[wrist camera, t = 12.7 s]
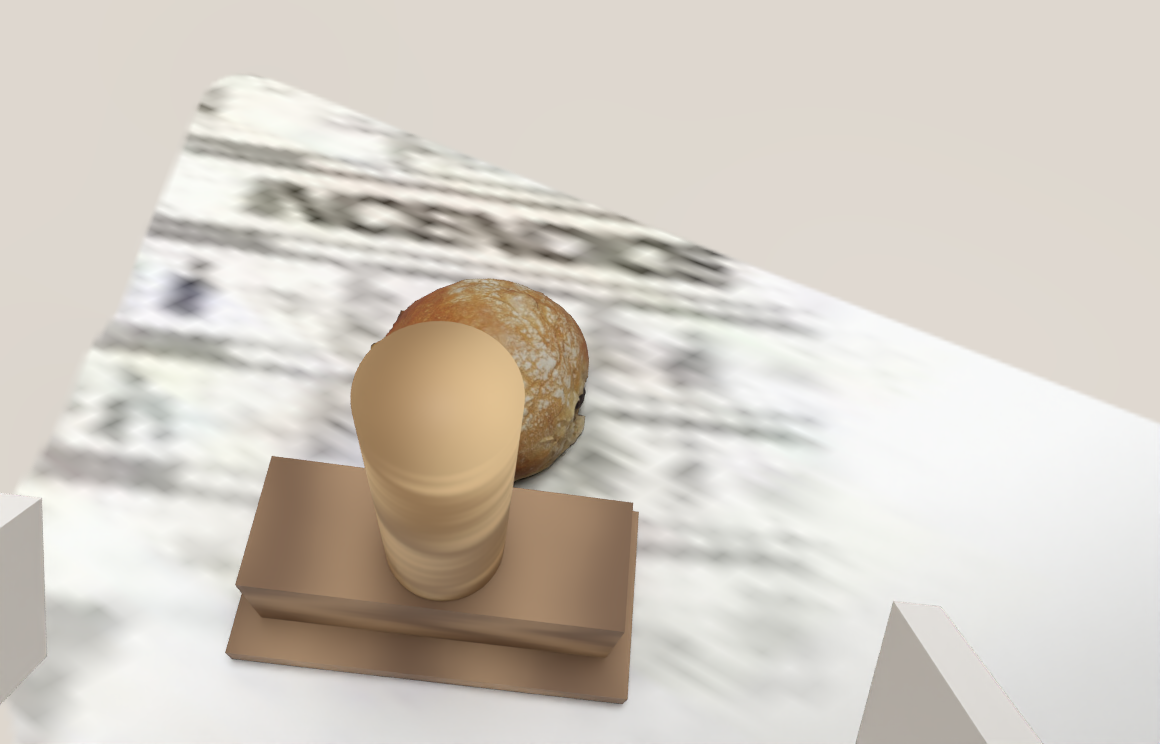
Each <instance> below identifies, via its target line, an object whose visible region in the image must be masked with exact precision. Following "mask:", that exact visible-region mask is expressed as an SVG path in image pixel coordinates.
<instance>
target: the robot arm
mask: <svg viewBox="0 0 1160 744" xmlns="http://www.w3.org/2000/svg"><path fill="white" fill-rule="evenodd" d="M46 657H47V641H46V611H45V580H44V550H43V519H42V498H38V497H30V496H21V495H13V494H5V493H0V704H1V703H2V702H3V701H4V700H5V699H6V698H7V697H8V696H9V695H10V694H11V693H12V692H13V691H14V690H15V689H16V688H17V687H18V686H19V685H20V684H21V683H22V682H23V681H24V680H25V679H26V678H27V677H28V676H29V674H30V673H31V672H32V671H33V670H34V669H35V668H36V667H37V666H38V665H39V664H40V663H41V662H42V661H43V660H44V659H45V658H46ZM856 744H1043V743H1042V742H1041V740H1040V739H1039V738H1038V736H1037V735H1036V734H1035V732H1034V731H1033V730H1032V728H1031V727H1030V726H1029V724H1028V723H1027V722H1026V720H1025V719H1024V718H1023V716H1022V715H1021V713H1020V712H1019V711H1018V709H1017V708H1016V707H1015V705H1014V704H1013V703H1012V701H1011V700H1010V699H1009V697H1008V696H1007V695H1006V693H1005V692H1004V691H1003V689H1002V688H1001V687H1000V685H999V684H998V683H997V681H996V680H995V679H994V677H993V676H992V675H991V673H990V672H989V671H988V669H987V668H986V667H985V665H984V664H983V662H982V661H981V660H980V658H979V657H978V656H977V654H976V653H975V652H974V650H973V649H972V648H971V646H970V645H969V644H968V642H967V641H966V640H965V638H964V637H963V636H962V634H961V633H960V632H959V630H958V629H957V628H956V626H955V625H954V624H953V622H952V621H951V620H950V618H949V617H948V616H947V614H946V613H945V611H944V610H943V609H942V607H940V606H931V605H923V604H915V603H906V602H898V601H893V604H892V608H891V612H890V616H889V619H888V623H887V627H886V631H885V635H884V638H883V642H882V646H881V650H880V653H879V657H878V661H877V665H876V668H875V672H874V676H873V680H872V683H871V687H870V691H869V695H868V699H867V702H866V706H865V710H864V714H863V717H862V721H861V725H860V729H859V732H858V736H857V740H856Z"/></svg>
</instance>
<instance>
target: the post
mask: <svg viewBox="0 0 1160 744" xmlns="http://www.w3.org/2000/svg"><path fill="white" fill-rule="evenodd" d="M524 405H525V390H524V383H523V379H522V375H521V373H520V370H519V368H518V366H517V364H516V362H515V360H514V359H513V357H512V356H511V355H510V353H509V352H508V351H507V350H506V349H505V348H504V347H503V346H502V345H501V344H500V343H499V342H498V341H497V340H495V339H494V338H493V337H491V336H490V335H488V334H486V333H485V332H483V331H481V330H479V329H476V328H474V327H471V326H468V325H465V324H461V323H456V322H448V321H429V322H422V323H417V324H413V325H410V326H407V327H404V328H402V329H399V330H397V331H395V332H393V333H391V334H389V335H388V336H386V337H385V338H383V339H382V340H381V341H379V342H378V343H377V344H376V345H375V346H374V347H373V348H372V349H371V350H370V351H369V352H368V353H367V354H366V356H365V357H364V359H363V360H362V362H361V363H360V365H359V367H358V369H357V371H356V373H355V376H354V379H353V382H352V388H351V409H352V415H353V419H354V424H355V428H356V432H357V436H358V440H359V445H360V449H361V453H362V457H363V461H364V466H365V470H366V474H367V478H368V483H369V487H370V491H371V495H372V499H373V504H374V508H375V512H376V516H377V520H378V525H379V529H380V533H381V537H382V542H383V546H384V550H385V554H386V558H387V562H388V565H389V567H390V569H391V572H392V573H393V575H394V576H395V578H396V579H397V581H398V582H399V583H400V584H401V585H402V586H403V587H404V588H406V589H407V590H408V591H410V592H411V593H413V594H415V595H417V596H419V597H421V598H424V599H427V600H432V601H454V600H458V599H462V598H465V597H467V596H469V595H471V594H473V593H475V592H477V591H478V590H480V589H481V588H482V587H483V586H485V585H486V584H487V583H488V582H489V581H490V580H491V578H492V577H493V576H494V574H495V573H496V571H497V569H498V567H499V565H500V563H501V560H502V557H503V553H504V547H505V540H506V533H507V526H508V519H509V511H510V504H511V497H512V490H513V483H514V476H515V469H516V462H517V454H518V447H519V440H520V433H521V426H522V419H523V412H524Z"/></svg>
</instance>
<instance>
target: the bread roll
mask: <svg viewBox="0 0 1160 744" xmlns="http://www.w3.org/2000/svg"><path fill="white" fill-rule="evenodd" d="M429 321H448V322H456V323H461V324H465V325H468V326H471V327H474V328H476V329H479V330H481V331H483V332H485V333H486V334H488V335H490V336H491V337H493V338H494V339H495V340H497V341H498V342H499V343H500V344H501V345H502V346H503V347H504V348H505V349H506V350H507V351H508V352H509V353H510V355H511V356H512V357H513V359H514V360H515V362H516V364H517V366H518V368H519V370H520V373H521V375H522V379H523V383H524V390H525V405H524V412H523V419H522V426H521V433H520V440H519V447H518V454H517V462H516V469H515V476H514V481H516V480H518V479H521V478H524V477H528V476H531V475H533V474H536V473H538V472H540V471H542V470H544V469H546V468H548V467H549V466H551V464H552V463H553V462H554V461H555V460H556V459H557V458H558V457H559V456H560V455H561V454H562V453H563V452H564V451H565V450H567V449H568V448H569V447H570V445H572V444H574V443H575V442H576V439H577V438H578V437H579V435H580V434H581V433H582V431H583V428H584V422H585V416H582V415H578V412H579V408H580V406H581V405H582V403H583V401H584V396H585V393H586V391H585V387H584V386H585V382H586V379H587V377H588V367H589V357H588V350H587V345H586V342H585V339H584V336H583V334H582V332H581V330H580V328H579V326H578V325H577V323H576V322H575V320H574V319H573V318H572V316H571V315H569V314H568V313H567V312H566V311H565V309H563V308H562V307H561V306H560V305H558V304H557V303H555V302H554V301H552V300H551V299H549V298H548V297H547V296H545V295H544V294H543V293H541V292H536V291H534V290H532V289H530V288H528V287H526V286H523V285H520V284H517V283H514V282H510V281H506V280H497V279H466V280H462V281H459V282H457V283H454V284H452V285H449V286H446V287H443V288H440V289H437V290H435V291H434V292H432V293H430V294H428V295H426V296H424V297H422V298H421V299H419V300H417V301H415V302H414V303H413V304H412V305H411V306H409V307H408V308H407V309H406V310H405V311H402V310H401V312H400V314H399V316H398V319H397V321H396V322H395V323H394V324H393V328H392V329H391V330H390V331H389V333H387V335H386V336H388V335H389V334H391V333H393V332H395V331H397V330H399V329H402V328H404V327H407V326H410V325H413V324H417V323H422V322H429ZM377 343H378V342H377ZM377 343H374V344H372V345H371V349H372V348H373V347H374V346H375V345H376V344H377Z"/></svg>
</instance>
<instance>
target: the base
mask: <svg viewBox="0 0 1160 744" xmlns="http://www.w3.org/2000/svg"><path fill="white" fill-rule="evenodd" d="M638 515H639V512H635V511H633V503H630V502H622V501H615V500H607V499H599V498H591V497H584V496H576V495H568V494H561V493H553V492H545V491H537V490H530V489H522V488H514V487H513V490H512V497H511V504H510V511H509V519H508V526H507V533H506V540H505V547H504V553H503V557H502V560H501V563H500V565H499V567H498V569H497V571H496V573H495V574H494V576H493V577H492V578H491V580H490V581H489V582H488V583H487V584H486V585H485V586H483V587H482V588H481V589H480V590H478V591H477V592H475V593H473V594H471V595H469V596H467V597H465V598H462V599H458V600H454V601H432V600H427V599H424V598H421V597H419V596H417V595H415V594H413V593H411V592H410V591H408V590H407V589H406V588H404V587H403V586H402V585H401V584H400V583H399V582H398V581H397V579H396V578H395V576H394V575H393V573H392V572H391V569H390V567H389V565H388V562H387V558H386V554H385V550H384V546H383V542H382V537H381V533H380V529H379V525H378V520H377V516H376V512H375V508H374V504H373V499H372V495H371V491H370V487H369V483H368V478H367V474H366V470H365V468H360V467H352V466H345V465H337V464H329V463H322V462H314V461H306V460H299V459H291V458H283V457H275V456H272V457H271V461H270V464H269V468H268V471H267V475H266V479H265V482H264V486H263V489H262V493H261V496H260V500H259V503H258V507H257V510H256V514H255V517H254V521H253V524H252V528H251V531H250V535H249V538H248V542H247V545H246V549H245V552H244V556H243V560H242V563H241V567H240V570H239V574H238V577H237V581H236V584H235V585H236V587H237V588H238V589H239V590H240V592H241V593H242V595H241V598H240V602H239V605H238V609H237V613H236V616H235V620H234V623H233V627H232V630H231V634H230V638H229V641H228V645H227V648H226V652H225V653H226V654H227V655H228V656H230V657H231V658H232V659H239V660H248V661H256V662H265V663H273V664H282V665H291V666H299V667H308V668H317V669H325V670H334V671H343V672H351V673H360V674H369V675H377V676H386V677H395V678H403V679H412V680H421V681H429V682H438V683H447V684H455V685H464V686H472V687H481V688H490V689H498V690H507V691H516V692H524V693H533V694H542V695H550V696H559V697H568V698H576V699H585V700H594V701H602V702H611V703H620V704H623V703H624V702H625V701H626V700H627V696H628V680H629V663H630V647H631V630H632V614H633V597H634V581H635V565H636V548H637V532H638Z"/></svg>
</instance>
